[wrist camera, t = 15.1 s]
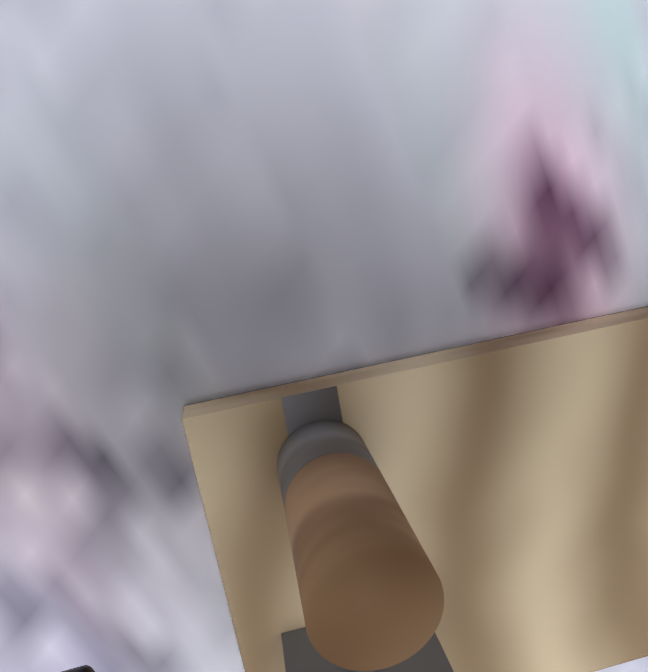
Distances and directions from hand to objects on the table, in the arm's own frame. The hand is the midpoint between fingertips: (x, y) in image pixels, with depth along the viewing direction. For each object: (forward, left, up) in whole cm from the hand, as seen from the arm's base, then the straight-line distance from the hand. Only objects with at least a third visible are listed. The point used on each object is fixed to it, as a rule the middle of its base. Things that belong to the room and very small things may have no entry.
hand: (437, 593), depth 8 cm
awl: (-2, +3, -11) cm, 11 cm away
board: (-8, +3, -12) cm, 15 cm away
